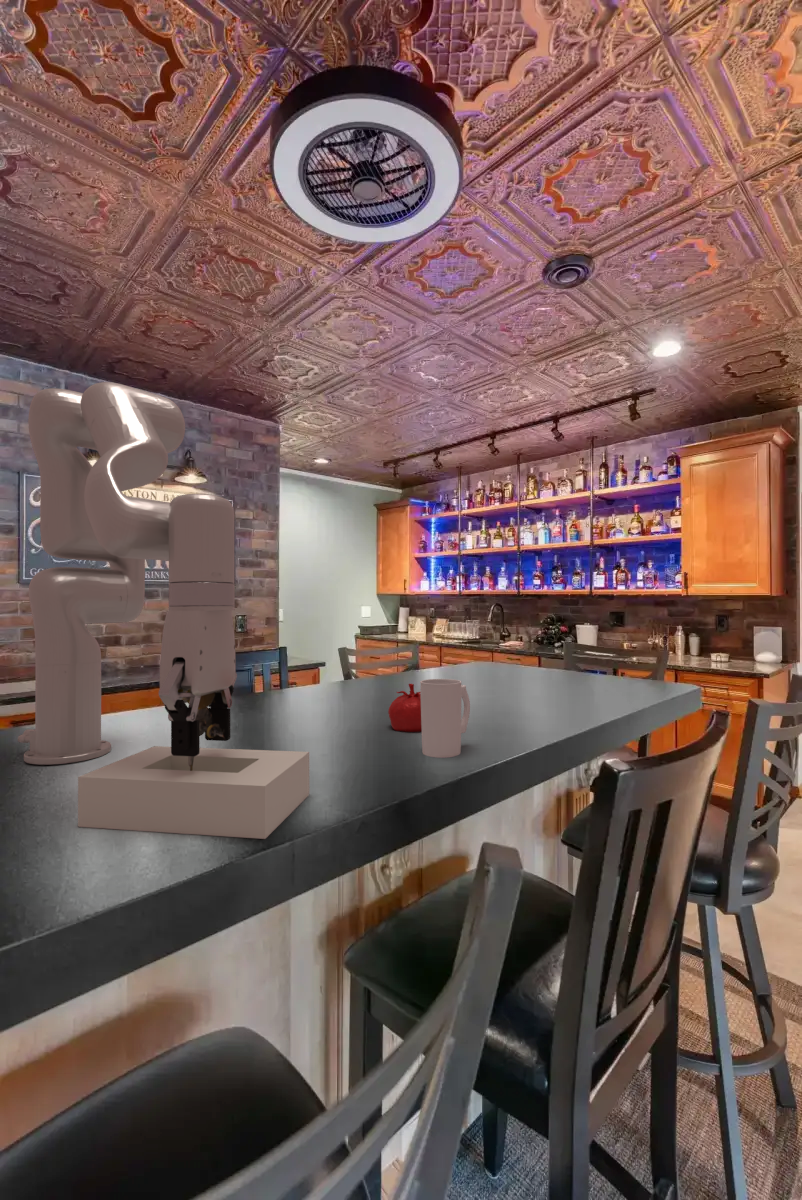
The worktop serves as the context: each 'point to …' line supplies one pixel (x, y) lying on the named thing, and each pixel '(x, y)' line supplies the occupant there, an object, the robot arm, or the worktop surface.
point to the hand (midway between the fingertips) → (202, 746)
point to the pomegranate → (406, 712)
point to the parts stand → (196, 792)
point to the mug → (443, 716)
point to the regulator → (205, 720)
